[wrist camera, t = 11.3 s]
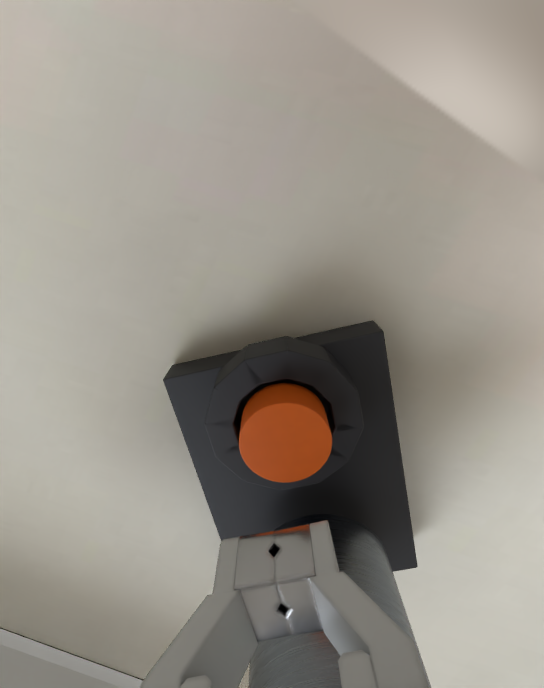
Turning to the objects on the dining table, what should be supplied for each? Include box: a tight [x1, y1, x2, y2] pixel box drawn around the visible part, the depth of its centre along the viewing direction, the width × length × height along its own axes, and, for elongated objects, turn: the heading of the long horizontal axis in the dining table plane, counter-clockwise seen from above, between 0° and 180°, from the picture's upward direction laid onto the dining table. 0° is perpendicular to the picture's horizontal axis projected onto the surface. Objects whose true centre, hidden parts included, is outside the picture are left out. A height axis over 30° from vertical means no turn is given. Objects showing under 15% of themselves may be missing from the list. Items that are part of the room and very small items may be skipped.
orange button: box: [239, 383, 332, 483], centre depth 16 cm, size 4×4×2 cm
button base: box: [163, 321, 417, 572], centre depth 19 cm, size 15×10×4 cm
